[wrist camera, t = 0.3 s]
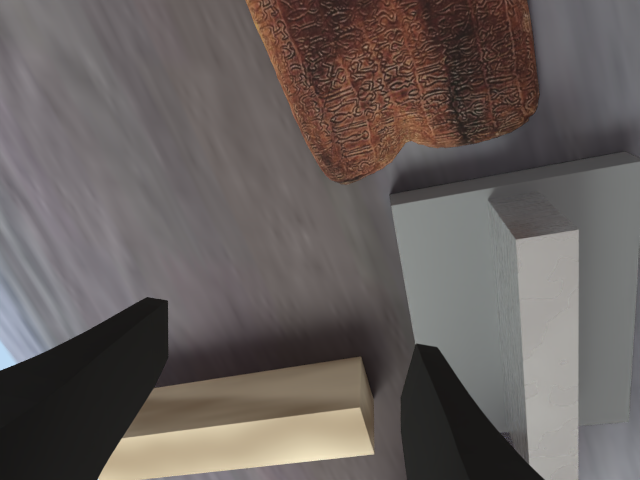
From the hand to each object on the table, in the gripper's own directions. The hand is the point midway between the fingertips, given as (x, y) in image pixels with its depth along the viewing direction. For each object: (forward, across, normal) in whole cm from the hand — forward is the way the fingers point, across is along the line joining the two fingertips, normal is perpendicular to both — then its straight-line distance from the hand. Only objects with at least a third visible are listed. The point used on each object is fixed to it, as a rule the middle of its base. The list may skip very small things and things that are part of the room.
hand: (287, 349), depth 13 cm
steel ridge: (+8, -10, +3) cm, 13 cm away
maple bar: (+10, +3, +12) cm, 16 cm away
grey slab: (+10, -10, +3) cm, 14 cm away
